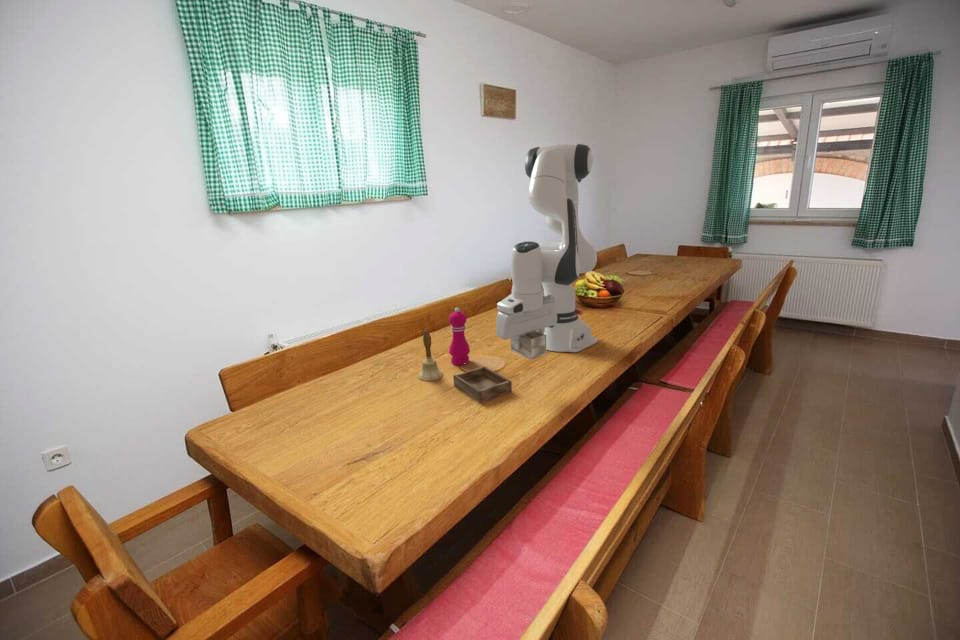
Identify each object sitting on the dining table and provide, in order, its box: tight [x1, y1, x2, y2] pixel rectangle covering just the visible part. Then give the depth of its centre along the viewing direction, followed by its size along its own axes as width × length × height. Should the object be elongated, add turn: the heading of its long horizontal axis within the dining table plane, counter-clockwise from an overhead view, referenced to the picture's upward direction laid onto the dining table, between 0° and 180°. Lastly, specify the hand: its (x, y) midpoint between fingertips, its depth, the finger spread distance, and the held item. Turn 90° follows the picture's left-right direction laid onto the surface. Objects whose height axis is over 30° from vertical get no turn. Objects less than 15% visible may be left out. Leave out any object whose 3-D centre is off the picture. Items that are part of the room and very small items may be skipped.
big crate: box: [453, 365, 513, 404], centre depth 143 cm, size 12×15×4 cm
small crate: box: [510, 330, 547, 361], centre depth 136 cm, size 6×9×6 cm, turn 33°
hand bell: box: [417, 329, 444, 382], centre depth 152 cm, size 8×8×16 cm
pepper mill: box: [448, 307, 471, 366], centre depth 162 cm, size 7×7×20 cm
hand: (528, 345), depth 136 cm, fingers closed on small crate, 6 cm apart
